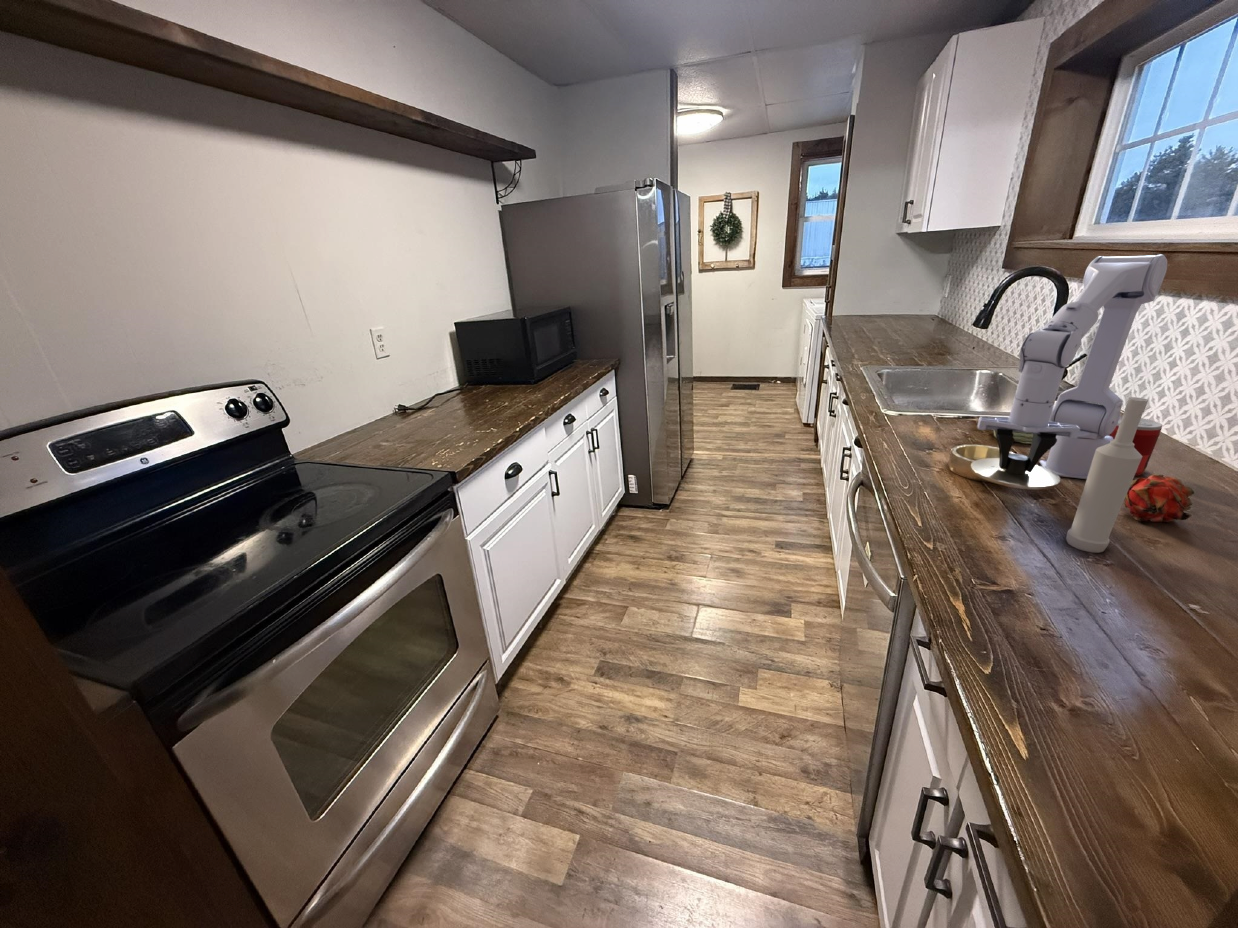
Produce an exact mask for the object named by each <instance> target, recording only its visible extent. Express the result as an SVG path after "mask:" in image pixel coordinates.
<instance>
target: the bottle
mask: <svg viewBox="0 0 1238 928" xmlns="http://www.w3.org/2000/svg"><path fill="white" fill-rule="evenodd" d="M1148 402H1149V399H1147V398H1143V397H1137V396H1135V397H1134V396H1131V397H1128V399H1127V402H1126V403H1125V408H1124V412H1123V414H1122V416H1121V417H1122V420H1121V423H1120V425H1119V428H1118V431H1117V434H1116V436H1115V439H1114V440H1111V441H1110V443H1109V444H1106V445H1104V446H1101V447H1099V448H1097V449H1096V451H1095V454H1094V458H1093V461H1092V464H1091V467H1090V470H1089V474H1088V477H1087V479H1085V483H1084V486H1083V489H1082V493H1081V496H1080V499H1079V502H1078V505H1077V509H1076V512H1075V515H1074V519H1073V522H1072V524H1071V527H1070V528H1069V529H1068V531H1067V533H1066V536H1065V537H1066V538H1065V539H1066V540H1065V541H1066V543H1067V544H1068V545H1069V546H1071V547H1073V548H1075V549H1077V550H1080V551H1084V552H1088V553H1098V554H1099V553H1104V551H1105V550H1106V549H1107V547H1108V546H1109V544H1110V542H1111V540H1110V535H1111V532H1112V530H1113V528H1114V527H1115V523H1116V521H1117V518H1118V517H1119V514H1120V511H1121V509H1122V507H1123V504H1124V503H1125V497H1126V495H1127V492H1128V490H1129V487H1130V485H1131V483H1132V481H1133V480H1134V478H1135V476H1134V475H1135V473H1136V471H1137V468H1138V466H1139V464H1140V461H1141V459H1142V455H1141V454H1140V453H1139V452H1138V451H1137V450H1136V449H1135V448H1134V445H1135V444H1134V443H1133V442H1132V441H1133V438H1134V436H1135V433H1136V430H1137V428H1138V425H1139V422H1140V419H1141V418H1142V416H1143V415H1144V413H1145V410H1146V408H1147V404H1148Z"/></svg>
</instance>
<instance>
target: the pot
mask: <svg viewBox="0 0 1238 928" xmlns="http://www.w3.org/2000/svg"><path fill="white" fill-rule="evenodd" d="M1009 454H1016V453H1015V452H1013V451H1011V450H1010V452H1009ZM986 458H1000V454H999V447H998V446H997V447H996V446H992V445H986V444H985V445H984V444H961V445H955V446H953V448H951V450H950V455H949V459H948V469H949V471H951V472H952V473H954V474H955V475H958V476H961V477H963V478H966V479H970V480H973V481H978V482H985V483H991V482H990V481H988V480H985V479H983V478H981V477H979V476H977V475H975V474H974V473H973V472H972V471H971V469H970V466H971V463H972V462H974V461H976V460H979V459H986Z"/></svg>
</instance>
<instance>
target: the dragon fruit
mask: <svg viewBox="0 0 1238 928" xmlns="http://www.w3.org/2000/svg"><path fill="white" fill-rule="evenodd" d="M1194 494H1195V491H1194V490H1193V488H1192V487H1190V486H1187V485H1185V484H1183V482H1182V480H1180V479H1179V478H1177V477H1174V476H1173V477H1172V476H1165V475H1163V474H1158V473H1155V474H1152V475H1149V476H1148V477H1147V478H1144V477H1138V478H1135V479H1133V480H1132V483H1131V485H1130V487H1129V490H1128V492H1127V495H1126V497H1125V499H1124V507H1125V508H1126V509H1129V513H1130V514H1131V517H1132V518H1133V519H1134V520H1135V521H1138V522H1140V523H1142V521H1143V522H1147V521H1150V522H1156V523H1161V522H1163V523H1169V522H1172V521H1175V520H1178V521H1186V520H1188V519H1189V518H1192V517H1193V515H1192V514H1191V513H1188V512H1186V511H1189V510H1190V509H1191V508H1192V507H1191V506H1193V504H1194V503H1193V502H1192V500H1191V498H1190V497H1192V495H1194Z"/></svg>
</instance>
